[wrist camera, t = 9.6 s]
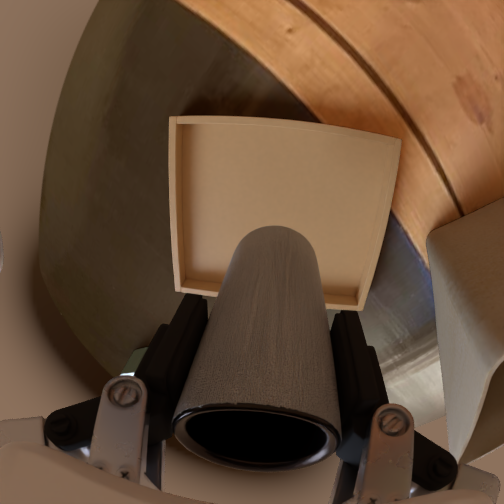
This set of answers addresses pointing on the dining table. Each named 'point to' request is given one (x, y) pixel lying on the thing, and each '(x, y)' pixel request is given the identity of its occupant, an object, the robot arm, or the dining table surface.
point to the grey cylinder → (264, 363)
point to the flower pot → (471, 328)
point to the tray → (279, 197)
